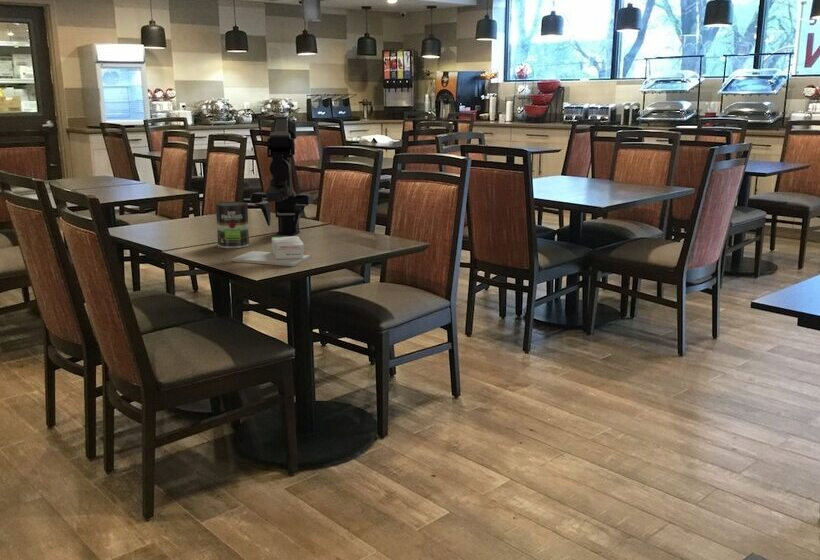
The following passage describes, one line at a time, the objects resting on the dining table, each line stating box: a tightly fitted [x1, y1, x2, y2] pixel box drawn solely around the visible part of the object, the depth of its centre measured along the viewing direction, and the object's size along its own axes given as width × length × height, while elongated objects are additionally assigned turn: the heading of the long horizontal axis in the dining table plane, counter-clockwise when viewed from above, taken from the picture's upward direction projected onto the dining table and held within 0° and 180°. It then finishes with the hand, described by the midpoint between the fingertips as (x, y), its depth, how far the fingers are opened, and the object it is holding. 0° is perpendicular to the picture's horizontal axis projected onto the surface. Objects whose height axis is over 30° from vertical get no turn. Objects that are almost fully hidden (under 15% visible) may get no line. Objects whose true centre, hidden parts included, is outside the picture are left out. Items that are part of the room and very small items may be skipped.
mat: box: [231, 250, 311, 267], centre depth 226 cm, size 20×12×1 cm, turn 72°
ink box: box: [270, 235, 305, 259], centre depth 226 cm, size 9×5×15 cm
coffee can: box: [215, 201, 250, 250], centre depth 245 cm, size 10×10×14 cm
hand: (282, 225), depth 232 cm, fingers open, 8 cm apart
